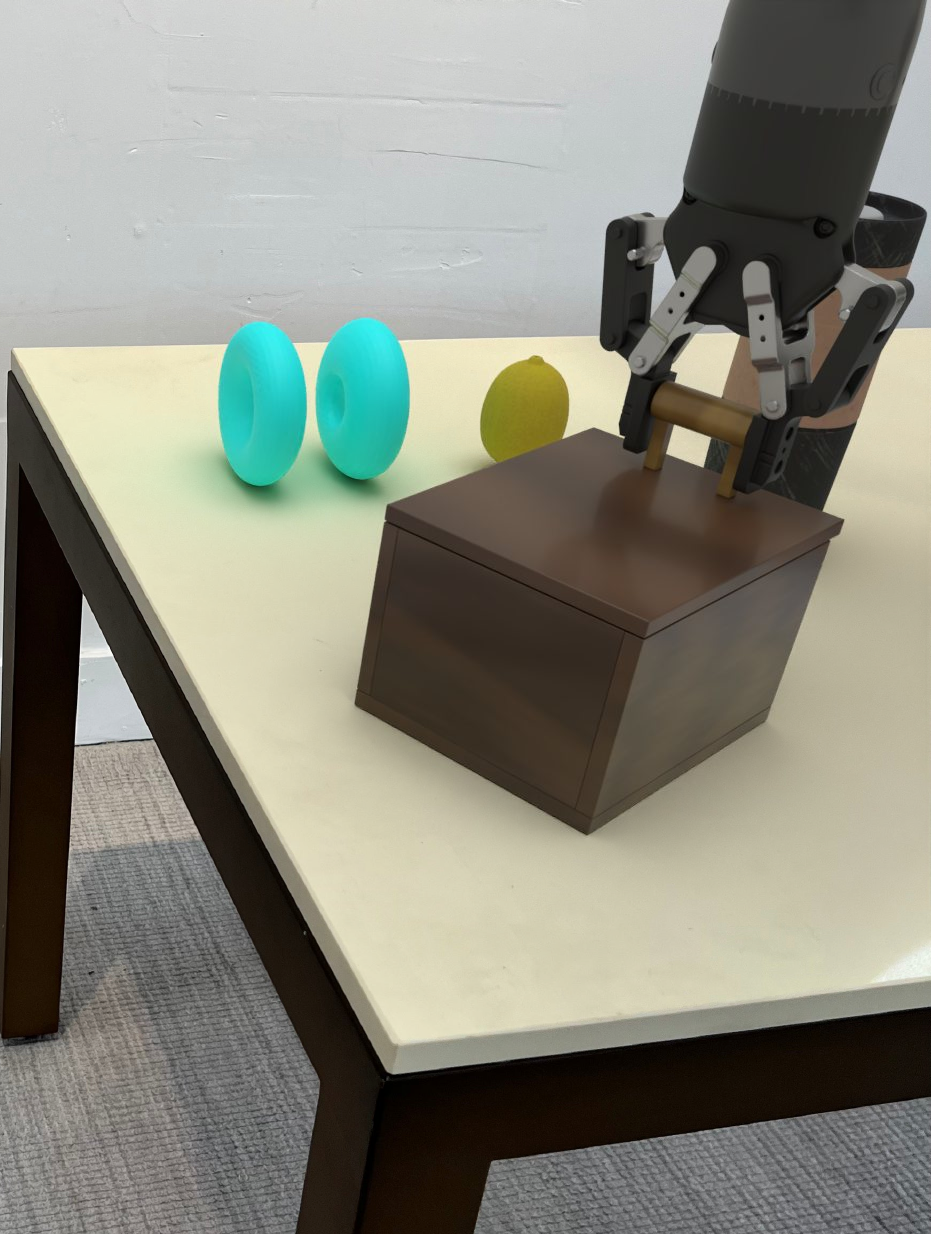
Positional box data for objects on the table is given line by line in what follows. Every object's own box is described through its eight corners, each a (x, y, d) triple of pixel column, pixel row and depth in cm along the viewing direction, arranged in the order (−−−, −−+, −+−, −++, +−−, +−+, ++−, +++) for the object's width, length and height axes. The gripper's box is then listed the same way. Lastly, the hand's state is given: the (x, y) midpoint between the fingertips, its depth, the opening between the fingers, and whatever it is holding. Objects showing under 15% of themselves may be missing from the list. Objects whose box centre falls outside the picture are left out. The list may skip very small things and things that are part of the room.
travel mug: (800, 578, 88) (923, 229, 76) (671, 545, 91) (770, 204, 79) (819, 532, 93) (937, 200, 82) (697, 502, 96) (793, 178, 84)
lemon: (479, 452, 102) (501, 336, 97) (560, 467, 100) (587, 350, 95) (462, 481, 97) (485, 361, 93) (546, 497, 96) (574, 377, 91)
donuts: (206, 451, 99) (219, 301, 94) (345, 443, 102) (366, 296, 96) (254, 512, 92) (271, 353, 86) (402, 503, 94) (429, 347, 88)
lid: (590, 441, 77) (613, 346, 74) (840, 534, 69) (877, 432, 66) (383, 520, 68) (400, 415, 65) (644, 639, 60) (677, 525, 57)
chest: (540, 614, 82) (581, 445, 77) (766, 720, 74) (831, 540, 69) (353, 704, 74) (383, 521, 68) (587, 835, 66) (643, 640, 60)
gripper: (1017, 105, 59) (871, 500, 69) (697, 47, 67) (608, 407, 77) (934, 124, 55) (791, 541, 65) (604, 60, 63) (523, 438, 73)
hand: (692, 466), depth 71 cm, fingers open, 5 cm apart
